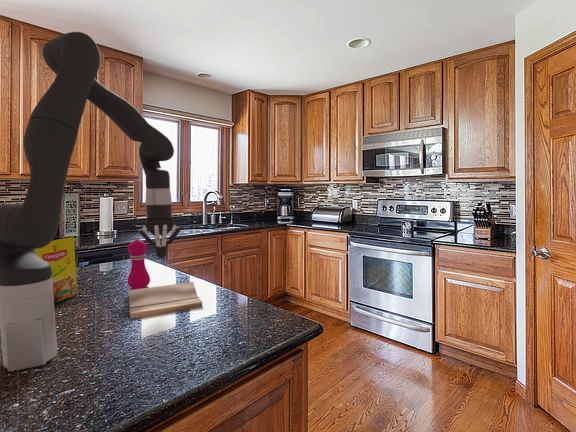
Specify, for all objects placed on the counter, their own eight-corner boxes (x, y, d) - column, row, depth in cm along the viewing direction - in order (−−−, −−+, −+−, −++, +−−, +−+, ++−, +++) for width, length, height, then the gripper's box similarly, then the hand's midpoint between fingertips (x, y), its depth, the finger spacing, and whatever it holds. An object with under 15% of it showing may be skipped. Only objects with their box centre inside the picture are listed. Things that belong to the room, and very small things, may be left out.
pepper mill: (123, 294, 117) (120, 237, 115) (141, 289, 123) (138, 234, 122) (137, 297, 114) (134, 238, 112) (155, 291, 120) (152, 235, 118)
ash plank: (197, 300, 110) (197, 297, 109) (130, 311, 101) (130, 307, 100) (192, 285, 115) (193, 281, 114) (128, 293, 106) (128, 290, 105)
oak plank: (202, 306, 104) (202, 301, 104) (130, 318, 95) (130, 312, 95) (198, 301, 109) (198, 296, 109) (129, 313, 100) (129, 307, 99)
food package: (38, 309, 103) (33, 244, 102) (35, 309, 104) (30, 244, 102) (78, 294, 118) (75, 237, 117) (75, 293, 119) (72, 236, 117)
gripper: (136, 204, 100) (139, 262, 102) (182, 202, 106) (184, 257, 108) (134, 203, 107) (137, 257, 108) (178, 202, 113) (180, 253, 115)
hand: (161, 257), depth 108 cm, fingers closed
